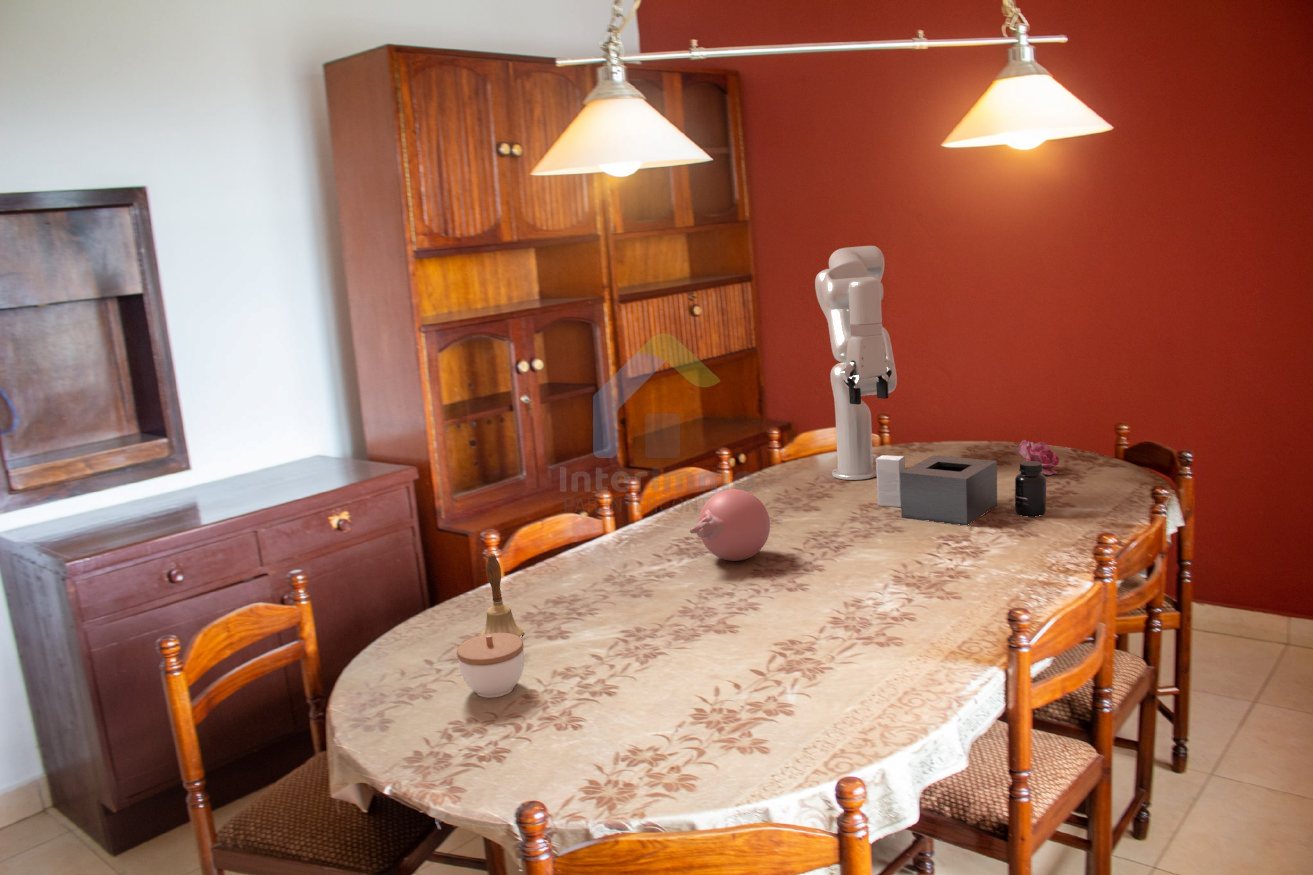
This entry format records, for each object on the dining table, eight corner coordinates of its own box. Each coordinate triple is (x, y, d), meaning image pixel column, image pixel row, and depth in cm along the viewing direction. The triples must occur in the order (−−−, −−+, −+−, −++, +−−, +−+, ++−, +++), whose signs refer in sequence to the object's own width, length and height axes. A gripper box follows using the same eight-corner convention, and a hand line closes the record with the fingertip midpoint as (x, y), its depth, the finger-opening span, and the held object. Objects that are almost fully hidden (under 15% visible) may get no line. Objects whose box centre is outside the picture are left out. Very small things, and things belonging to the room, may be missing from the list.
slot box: (934, 498, 256) (933, 455, 254) (997, 505, 246) (996, 460, 244) (901, 517, 242) (900, 472, 240) (966, 526, 232) (966, 479, 230)
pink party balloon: (669, 565, 222) (664, 497, 219) (740, 542, 233) (735, 477, 230) (714, 582, 210) (709, 509, 207) (786, 557, 221) (782, 488, 218)
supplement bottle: (1013, 517, 236) (1013, 466, 234) (1015, 508, 242) (1015, 459, 240) (1045, 518, 234) (1045, 467, 231) (1046, 509, 240) (1046, 459, 237)
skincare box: (906, 503, 254) (905, 456, 251) (900, 507, 250) (899, 460, 248) (883, 501, 257) (881, 454, 254) (877, 505, 254) (875, 458, 251)
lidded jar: (490, 710, 161) (484, 655, 159) (448, 694, 168) (442, 640, 166) (541, 684, 169) (535, 631, 167) (499, 669, 176) (493, 618, 174)
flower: (1063, 484, 271) (1069, 459, 264) (1025, 490, 271) (1030, 465, 264) (1048, 452, 279) (1053, 427, 271) (1011, 458, 279) (1016, 433, 272)
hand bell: (527, 640, 188) (518, 557, 185) (482, 648, 186) (472, 564, 182) (520, 624, 196) (511, 544, 192) (476, 632, 194) (466, 551, 190)
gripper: (878, 327, 255) (881, 395, 258) (829, 334, 245) (832, 405, 248) (902, 327, 249) (904, 397, 252) (853, 335, 239) (856, 407, 242)
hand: (869, 401), depth 250 cm, fingers open, 9 cm apart
